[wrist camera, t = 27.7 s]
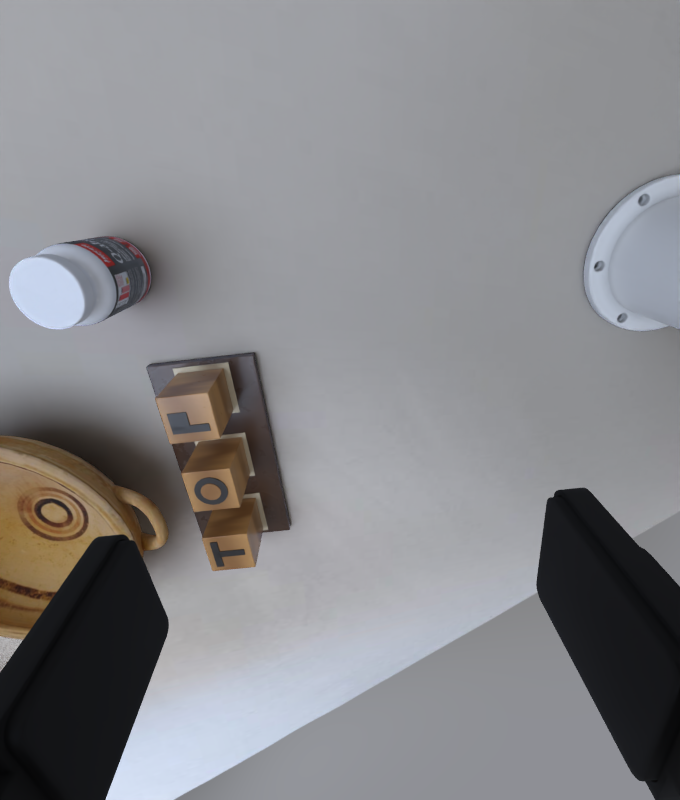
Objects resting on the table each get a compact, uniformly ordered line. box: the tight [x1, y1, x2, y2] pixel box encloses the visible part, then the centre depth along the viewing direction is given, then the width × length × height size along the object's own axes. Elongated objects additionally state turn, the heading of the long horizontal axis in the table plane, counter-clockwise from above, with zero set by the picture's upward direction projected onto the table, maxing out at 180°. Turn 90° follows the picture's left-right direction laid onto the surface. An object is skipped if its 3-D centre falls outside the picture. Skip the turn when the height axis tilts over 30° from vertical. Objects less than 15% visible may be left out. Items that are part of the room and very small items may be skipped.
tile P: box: [155, 368, 233, 444], centre depth 37 cm, size 4×4×6 cm
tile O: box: [181, 437, 250, 512], centre depth 40 cm, size 4×4×6 cm
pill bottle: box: [9, 236, 151, 329], centre depth 31 cm, size 6×6×10 cm
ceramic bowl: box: [0, 435, 169, 640], centre depth 42 cm, size 30×24×8 cm
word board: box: [146, 353, 290, 537], centre depth 43 cm, size 10×21×1 cm, turn 6°
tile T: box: [202, 498, 263, 571], centre depth 44 cm, size 4×4×6 cm
